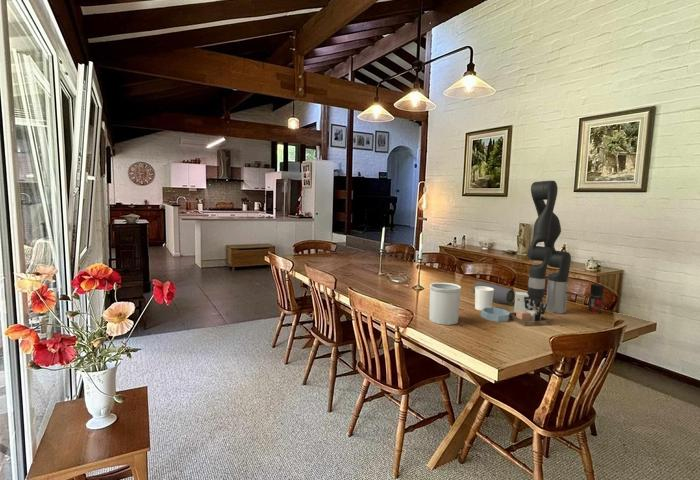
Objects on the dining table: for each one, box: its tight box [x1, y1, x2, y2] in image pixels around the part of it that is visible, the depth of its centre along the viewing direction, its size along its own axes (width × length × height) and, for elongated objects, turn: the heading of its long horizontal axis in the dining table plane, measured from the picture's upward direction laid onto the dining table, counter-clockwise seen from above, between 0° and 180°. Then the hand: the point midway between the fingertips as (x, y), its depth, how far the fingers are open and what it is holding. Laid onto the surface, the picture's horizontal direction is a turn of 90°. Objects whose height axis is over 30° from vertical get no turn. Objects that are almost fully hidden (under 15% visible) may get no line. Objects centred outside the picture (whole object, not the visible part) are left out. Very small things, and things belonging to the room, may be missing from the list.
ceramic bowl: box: [480, 306, 511, 323], centre depth 190 cm, size 13×13×4 cm
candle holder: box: [474, 286, 494, 312], centre depth 204 cm, size 10×10×12 cm
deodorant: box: [587, 283, 605, 314], centre depth 206 cm, size 6×6×15 cm
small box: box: [513, 291, 529, 312], centre depth 201 cm, size 8×6×10 cm
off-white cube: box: [527, 309, 542, 321], centre depth 187 cm, size 4×4×4 cm
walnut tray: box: [509, 311, 552, 327], centre depth 186 cm, size 14×14×3 cm
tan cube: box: [516, 310, 531, 322], centre depth 185 cm, size 4×4×4 cm
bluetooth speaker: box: [472, 281, 516, 304], centre depth 223 cm, size 23×9×10 cm, turn 34°
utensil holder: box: [428, 282, 462, 326], centre depth 183 cm, size 15×15×18 cm
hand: (533, 319), depth 187 cm, fingers open, 4 cm apart
